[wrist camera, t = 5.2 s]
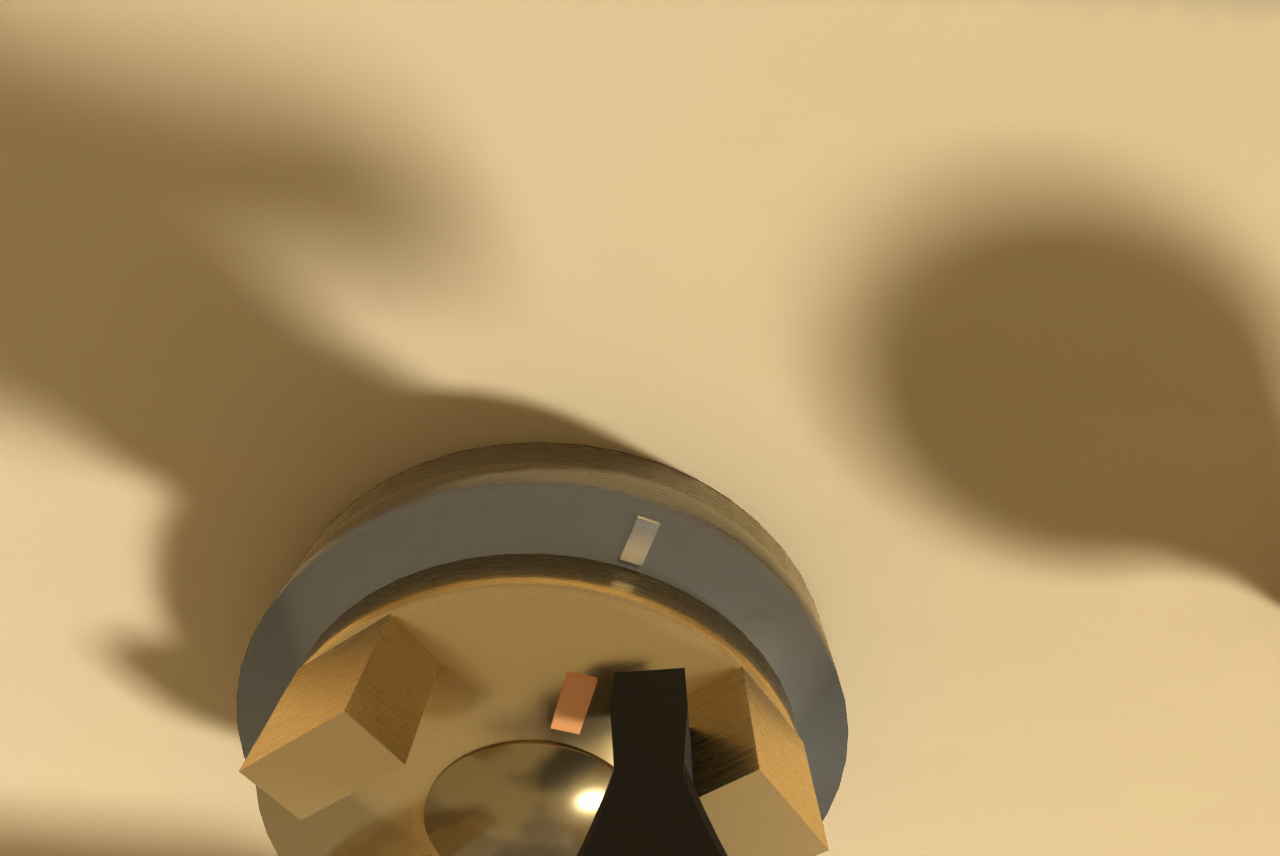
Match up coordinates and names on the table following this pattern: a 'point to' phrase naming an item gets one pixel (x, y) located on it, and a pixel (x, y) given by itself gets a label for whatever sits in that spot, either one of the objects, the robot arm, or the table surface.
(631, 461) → the cap base
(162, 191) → the table surface
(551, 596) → the brass lugged disc
